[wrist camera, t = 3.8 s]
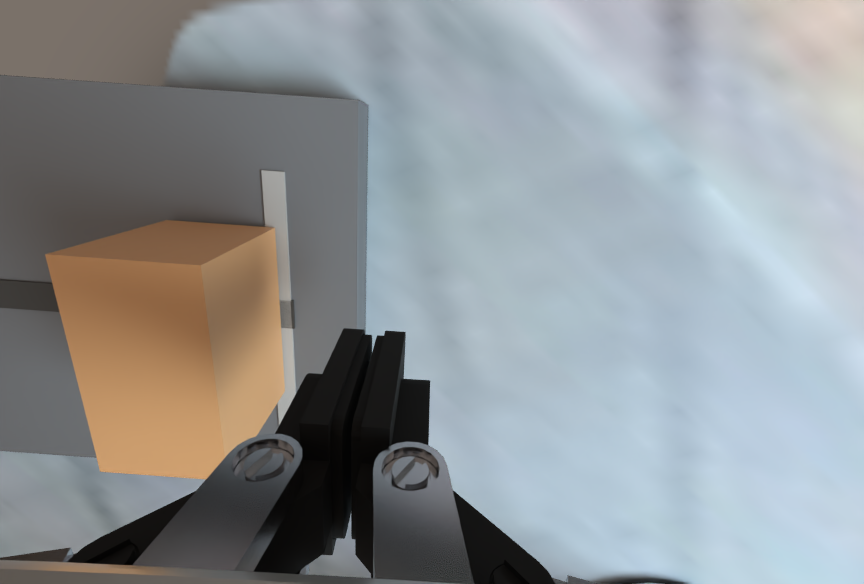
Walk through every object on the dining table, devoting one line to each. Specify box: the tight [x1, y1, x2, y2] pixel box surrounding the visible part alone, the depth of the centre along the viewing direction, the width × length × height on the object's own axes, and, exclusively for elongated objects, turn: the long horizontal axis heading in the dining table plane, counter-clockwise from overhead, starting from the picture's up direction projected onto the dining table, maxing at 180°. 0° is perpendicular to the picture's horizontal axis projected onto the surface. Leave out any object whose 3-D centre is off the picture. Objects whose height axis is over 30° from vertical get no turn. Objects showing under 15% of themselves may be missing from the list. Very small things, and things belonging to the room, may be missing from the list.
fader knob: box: [45, 220, 285, 479], centre depth 14 cm, size 4×7×5 cm, turn 176°
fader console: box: [0, 75, 368, 458], centre depth 18 cm, size 30×16×2 cm, turn 86°
